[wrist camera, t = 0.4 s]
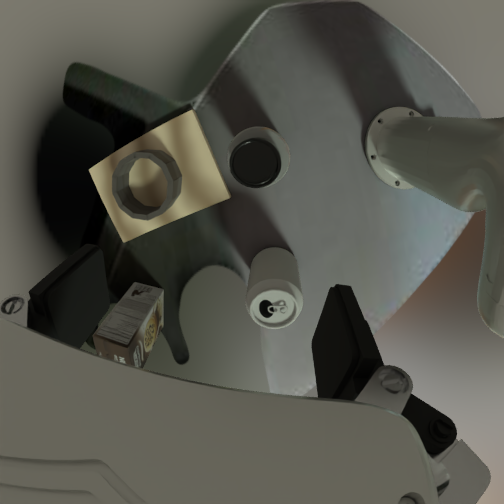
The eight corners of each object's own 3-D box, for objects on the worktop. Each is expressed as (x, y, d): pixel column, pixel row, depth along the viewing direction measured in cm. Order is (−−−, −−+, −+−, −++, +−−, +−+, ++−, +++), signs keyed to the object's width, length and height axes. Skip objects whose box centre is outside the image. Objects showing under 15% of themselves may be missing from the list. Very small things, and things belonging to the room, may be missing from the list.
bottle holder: (194, 110, 36) (183, 107, 31) (231, 196, 41) (225, 205, 36) (92, 168, 40) (74, 174, 35) (126, 240, 45) (112, 252, 40)
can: (247, 247, 44) (239, 289, 33) (295, 242, 43) (302, 282, 32) (254, 288, 47) (249, 336, 36) (299, 283, 46) (305, 330, 35)
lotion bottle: (240, 162, 39) (210, 195, 20) (247, 124, 36) (222, 119, 18) (279, 170, 39) (285, 209, 20) (287, 132, 36) (302, 134, 18)
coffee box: (164, 325, 52) (136, 386, 38) (135, 318, 52) (101, 374, 38) (164, 288, 49) (129, 349, 34) (133, 280, 48) (90, 336, 34)
